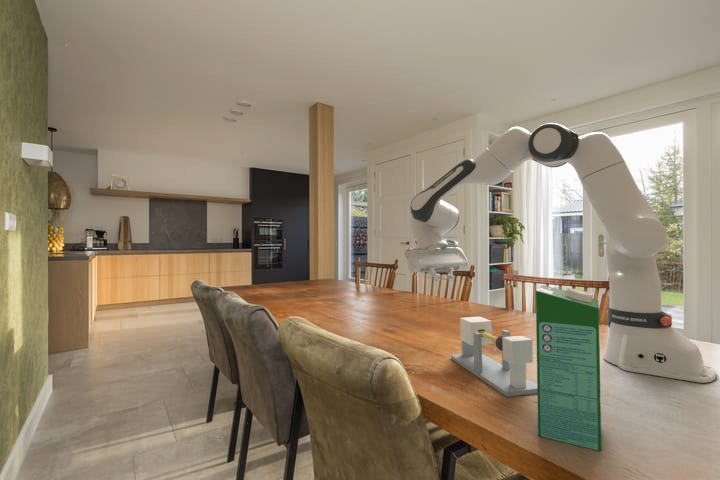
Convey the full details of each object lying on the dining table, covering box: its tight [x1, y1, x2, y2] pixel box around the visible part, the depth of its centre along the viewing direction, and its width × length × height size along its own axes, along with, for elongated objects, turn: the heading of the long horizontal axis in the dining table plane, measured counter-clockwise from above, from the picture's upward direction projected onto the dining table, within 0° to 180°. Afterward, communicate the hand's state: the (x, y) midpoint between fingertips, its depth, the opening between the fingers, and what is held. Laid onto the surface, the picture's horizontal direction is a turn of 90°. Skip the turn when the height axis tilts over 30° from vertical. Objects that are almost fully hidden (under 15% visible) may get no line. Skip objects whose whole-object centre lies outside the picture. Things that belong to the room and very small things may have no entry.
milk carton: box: [535, 284, 602, 452], centre depth 64 cm, size 9×9×25 cm
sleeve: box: [459, 315, 493, 346], centre depth 99 cm, size 6×6×6 cm
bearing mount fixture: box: [450, 329, 537, 398], centre depth 92 cm, size 26×9×12 cm, turn 12°
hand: (444, 279), depth 117 cm, fingers open, 3 cm apart
